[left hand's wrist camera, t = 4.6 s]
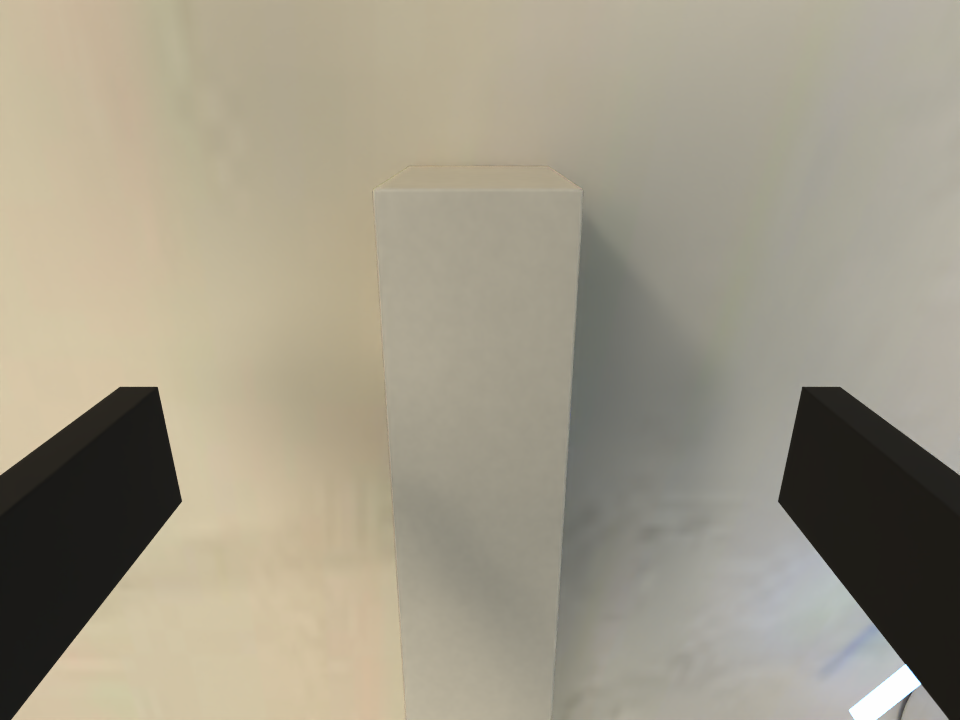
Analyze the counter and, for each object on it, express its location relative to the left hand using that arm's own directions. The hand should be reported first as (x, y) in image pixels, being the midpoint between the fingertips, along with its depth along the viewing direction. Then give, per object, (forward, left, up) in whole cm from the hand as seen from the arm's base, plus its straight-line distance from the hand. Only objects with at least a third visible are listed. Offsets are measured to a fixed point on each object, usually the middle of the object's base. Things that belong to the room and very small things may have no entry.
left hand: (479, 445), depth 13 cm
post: (+21, -16, -14) cm, 30 cm away
